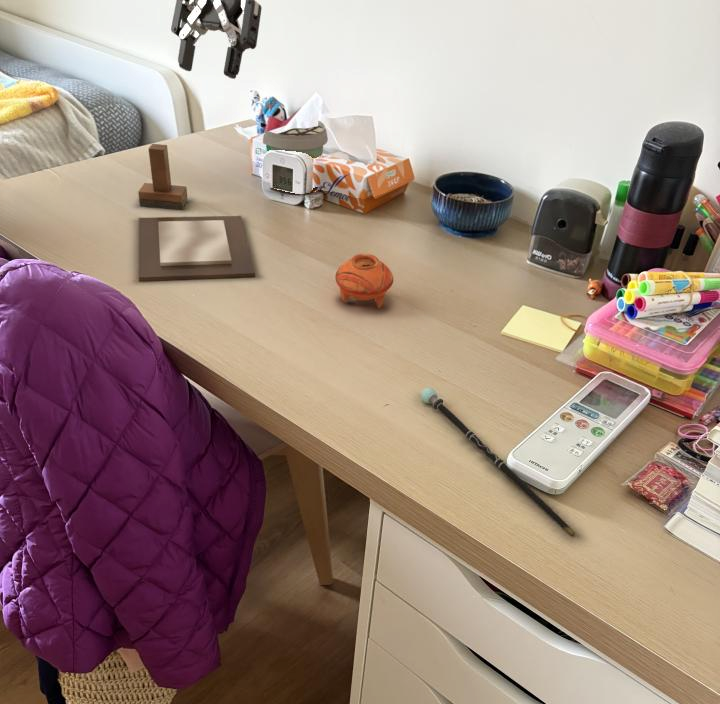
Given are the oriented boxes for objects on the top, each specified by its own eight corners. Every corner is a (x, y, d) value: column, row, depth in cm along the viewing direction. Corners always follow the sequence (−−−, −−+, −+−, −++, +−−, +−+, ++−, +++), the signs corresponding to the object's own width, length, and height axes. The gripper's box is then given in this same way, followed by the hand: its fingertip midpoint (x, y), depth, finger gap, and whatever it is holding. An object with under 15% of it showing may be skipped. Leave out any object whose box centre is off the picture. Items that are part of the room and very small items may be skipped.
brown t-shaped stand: (139, 206, 117) (132, 148, 111) (146, 196, 120) (138, 140, 114) (182, 209, 117) (177, 152, 111) (187, 200, 120) (182, 144, 114)
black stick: (568, 544, 69) (565, 537, 68) (421, 400, 84) (416, 392, 82) (582, 532, 69) (579, 525, 67) (432, 390, 83) (427, 382, 82)
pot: (405, 296, 100) (405, 256, 95) (370, 327, 97) (368, 287, 92) (361, 275, 104) (358, 235, 98) (326, 304, 100) (321, 264, 95)
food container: (283, 202, 123) (283, 141, 116) (263, 190, 126) (262, 130, 119) (339, 189, 129) (342, 130, 122) (319, 178, 132) (321, 120, 125)
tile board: (139, 281, 99) (137, 273, 98) (139, 221, 113) (138, 213, 112) (255, 276, 102) (254, 269, 101) (241, 219, 116) (240, 211, 116)
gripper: (172, -65, 103) (154, 58, 108) (252, -59, 98) (230, 70, 102) (204, -39, 110) (186, 75, 114) (281, -32, 105) (259, 88, 109)
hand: (206, 73), depth 108 cm, fingers open, 8 cm apart
